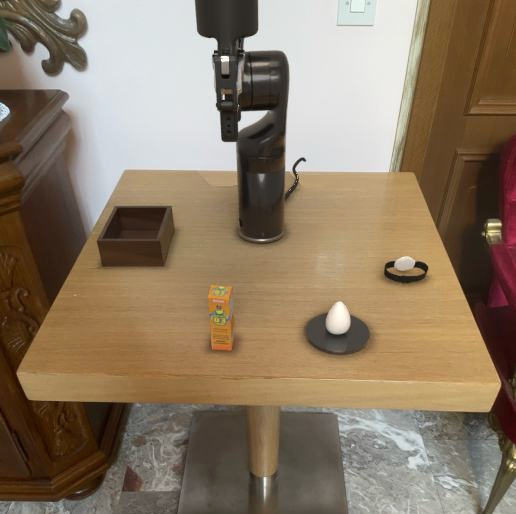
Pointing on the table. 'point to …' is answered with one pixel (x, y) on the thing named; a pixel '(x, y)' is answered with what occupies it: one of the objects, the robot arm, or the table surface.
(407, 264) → the watch
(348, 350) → the coaster
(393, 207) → the table surface
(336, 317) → the egg
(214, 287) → the supplement box
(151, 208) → the crate
